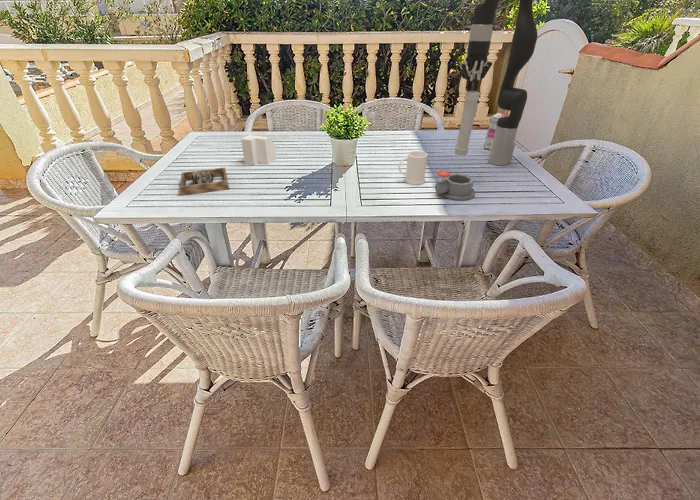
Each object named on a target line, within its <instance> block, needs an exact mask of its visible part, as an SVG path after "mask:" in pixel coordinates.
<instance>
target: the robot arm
mask: <svg viewBox="0 0 700 500" xmlns="http://www.w3.org/2000/svg"><path fill="white" fill-rule="evenodd" d="M500 1H501V0H485V1H484V2H482V3H479V4H477V5H476V6H475V7H474V10H473V17H472V22H471V27H470V31H469V38H468V43H467V44H468V45H467V49H466V58H465V60H464V61H463V62H460V63H459V64H458V67H459V72H460V75H461V77H462V79H464V80H466V85H465V90H466V91H465V92H467V91H468V92H470V91H473V86H474V91H477V90H478V88H479V84H480V82H479V81H480V80H481V79H484V78H485V77H486V76H487V73H488V72H489V71H490V69H491V67H492V65H493V62H491V61H489V60H488V54H489V51H490V47H491V41H492V37H493V36H492V35H493V30H494V29H493V27H494V20H495V15H496V10H497V8H498V5H499V3H500ZM533 3H534V0H519V3H518V4H519V5H518V11H517V17H516V21H515V26H514V31H513V35H512V40H511V43H510V48H509V49H510V50H509V53H508V60H507V64H506V69H505V73H504V76H503V80H502V83H501V86H500V90H499V93H498V96H497V97H498V98H497V106H498V108H500V109H501V110H505V111H510V112H509V114H508V116H507V115H506V117H502V118H499V119H498V121H497V125H496V129H495V134H494V139H493V143H492V148H491V150H490V152H489V158H488V162H489V164H491V165H496V166H503V167H504V166H507V165H509V164H511V162H512V158H513V155H514V150H515V147H516V143H515V140H516V136H517V132H518V128H519V125H520V121H521V119H522V117H523V115H524V110H525V107H526V104H527V100H528V92H527V89H523V88H519V87H518V88H517V87H514V86H515V82H516V80H517V79H516V78H517V77H518V74H519V73H520V72H521V70H522V69H523V68H524V67H525V66H526V65H527V64H528V63H529V62H530V59H531V58H532V56H533V54H534V52H535V48H536V46H537V45H536V44H537V40H538V29H537V25H536V22H535V19H534V15H533ZM472 82H473V84H472Z"/></svg>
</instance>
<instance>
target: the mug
mask: <svg viewBox="0 0 700 500" xmlns="http://www.w3.org/2000/svg"><path fill="white" fill-rule="evenodd" d="M404 161H406V171H405V172H404V171H402V170H401V164H402V163H403V162H404ZM427 162H428V153H427V152H425V151H422V150H412V151H409V152H407V156H406V157H404V158H402V159H401V160H400V162H399V164H398V171H399V172H400V174H401V175H403V176H405V178H404V181H405V183H407V184H409V185H413V186H414V185H415V186H420V185H423V184H424V183H425V182H426V181H425V178H426V168H427Z"/></svg>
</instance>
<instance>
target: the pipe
mask: <svg viewBox="0 0 700 500" xmlns="http://www.w3.org/2000/svg"><path fill="white" fill-rule="evenodd" d="M472 84H473V82H472ZM480 95H481V92H480V91H477V90H476V91H474V86H473V91H472V90H471V91H470V92H468V91H465V96H464V104H463V105H464V106H463V109H462V115H461V121H460V125H459V130H458V131H459V132H458V136H457V140H456V144H455V146H454V154H455V155H457V156H466V155H468V153H469V152H468V151H469V144H470V139H471V133H472V129H473V125H474V120H475V119H474V118H475V116H476V115H475V114H476V110H477V105H478V101H479V100H480Z"/></svg>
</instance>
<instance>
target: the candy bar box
mask: <svg viewBox="0 0 700 500" xmlns="http://www.w3.org/2000/svg"><path fill="white" fill-rule="evenodd" d="M502 117H507V114H506V113H502V112H500V113H499V112H497V113H495V114H494V115H492V116H490V119H489V123H488V128H487V131H486V132H487V133H486V137H485V142H484V147H483V149H484V150H489V151H491V148H492V143H493V139H494V134H495V129H496V125H497V121H498V119H499V118H502Z"/></svg>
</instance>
